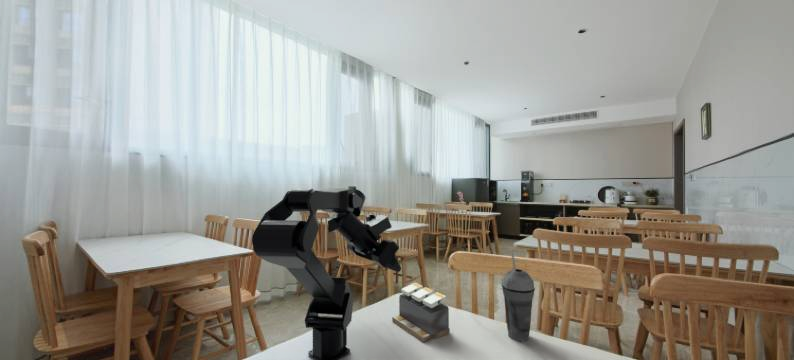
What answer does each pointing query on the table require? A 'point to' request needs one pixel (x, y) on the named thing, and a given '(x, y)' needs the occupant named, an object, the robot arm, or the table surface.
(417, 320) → the switch unit
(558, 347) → the table surface
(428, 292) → the rocker mid
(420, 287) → the rocker left
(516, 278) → the beverage cup
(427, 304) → the rocker right
